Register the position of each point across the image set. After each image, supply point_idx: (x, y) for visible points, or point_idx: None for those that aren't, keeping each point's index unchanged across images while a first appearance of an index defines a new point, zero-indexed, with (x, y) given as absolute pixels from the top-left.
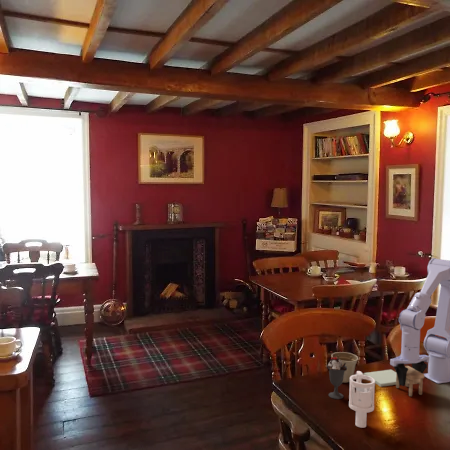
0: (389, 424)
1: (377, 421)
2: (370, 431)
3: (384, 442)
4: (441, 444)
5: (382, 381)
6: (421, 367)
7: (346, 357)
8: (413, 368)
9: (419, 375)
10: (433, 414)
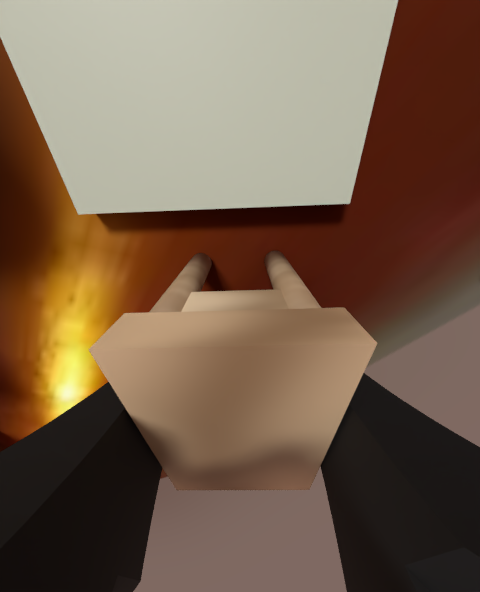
0: None
1: (33, 426)
2: (10, 445)
3: None
4: None
5: (107, 168)
6: (345, 565)
7: None
8: (347, 416)
9: (260, 486)
10: None
